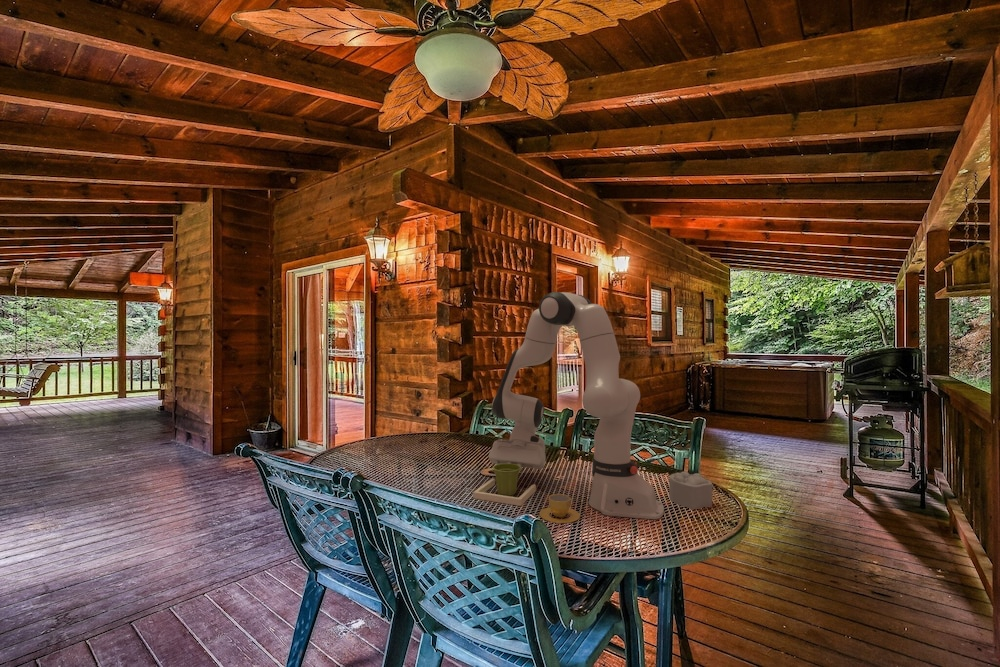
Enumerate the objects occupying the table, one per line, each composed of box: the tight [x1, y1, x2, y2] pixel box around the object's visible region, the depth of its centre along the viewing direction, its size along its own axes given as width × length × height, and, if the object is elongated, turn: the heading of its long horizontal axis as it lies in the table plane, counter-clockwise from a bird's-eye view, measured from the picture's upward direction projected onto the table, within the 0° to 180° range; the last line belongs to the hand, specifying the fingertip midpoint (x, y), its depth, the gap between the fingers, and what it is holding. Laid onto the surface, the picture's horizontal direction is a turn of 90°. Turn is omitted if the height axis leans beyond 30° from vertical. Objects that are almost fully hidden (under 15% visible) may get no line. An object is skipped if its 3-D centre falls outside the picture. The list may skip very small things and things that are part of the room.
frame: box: [472, 478, 537, 507], centre depth 153 cm, size 16×15×2 cm
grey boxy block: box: [668, 470, 713, 510], centre depth 148 cm, size 10×13×9 cm
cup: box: [538, 493, 581, 524], centre depth 136 cm, size 12×12×5 cm
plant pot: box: [492, 463, 521, 497], centre depth 155 cm, size 9×9×9 cm
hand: (511, 476), depth 159 cm, fingers closed, pressing on plant pot
